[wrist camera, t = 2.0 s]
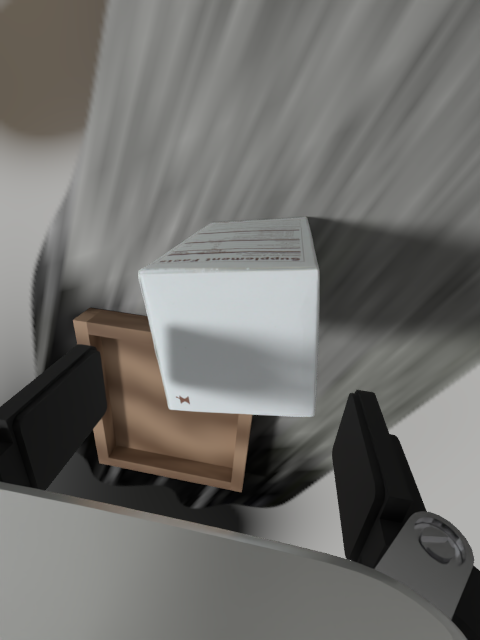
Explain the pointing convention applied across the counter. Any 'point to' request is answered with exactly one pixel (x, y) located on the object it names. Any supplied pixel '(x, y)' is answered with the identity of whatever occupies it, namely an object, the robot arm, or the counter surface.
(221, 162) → the counter surface
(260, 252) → the supplement box
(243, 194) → the counter surface
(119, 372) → the walnut tray
